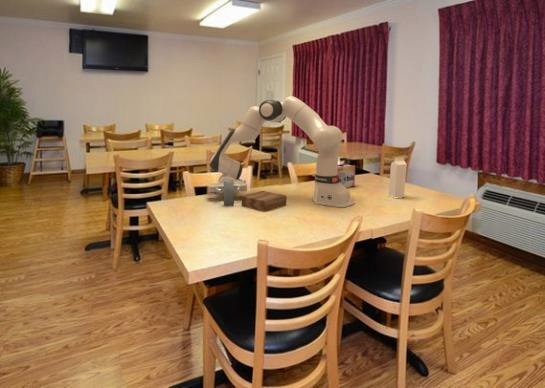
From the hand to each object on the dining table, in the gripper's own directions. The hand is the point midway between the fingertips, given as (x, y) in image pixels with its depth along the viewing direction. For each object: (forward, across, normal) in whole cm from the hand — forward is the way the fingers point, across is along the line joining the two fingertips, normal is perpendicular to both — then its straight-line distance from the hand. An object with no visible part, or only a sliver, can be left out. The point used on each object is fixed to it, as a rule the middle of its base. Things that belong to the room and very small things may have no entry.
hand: (228, 190), depth 200 cm
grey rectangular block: (+4, 0, +6) cm, 7 cm away
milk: (0, +92, +7) cm, 93 cm away
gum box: (-27, +68, +7) cm, 73 cm away
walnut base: (+8, +17, +6) cm, 20 cm away
